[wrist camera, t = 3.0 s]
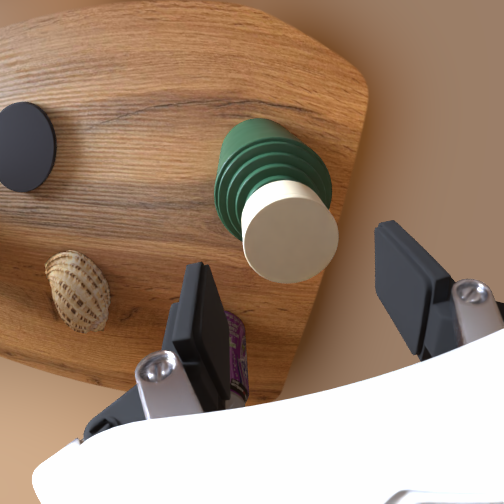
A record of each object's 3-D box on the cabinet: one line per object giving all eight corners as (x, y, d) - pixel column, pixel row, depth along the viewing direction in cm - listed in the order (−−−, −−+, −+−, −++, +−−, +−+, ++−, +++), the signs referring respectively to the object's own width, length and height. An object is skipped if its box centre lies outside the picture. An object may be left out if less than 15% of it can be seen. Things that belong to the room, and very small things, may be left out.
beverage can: (229, 354, 41) (230, 431, 31) (178, 336, 39) (167, 414, 29) (255, 317, 38) (263, 399, 28) (200, 296, 36) (192, 378, 26)
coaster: (5, 89, 23) (2, 90, 22) (70, 122, 26) (67, 123, 25) (-17, 169, 27) (-20, 170, 26) (41, 205, 30) (38, 207, 29)
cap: (272, 163, 14) (280, 177, 12) (340, 208, 15) (356, 229, 13) (225, 233, 16) (224, 257, 14) (292, 269, 17) (301, 297, 15)
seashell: (61, 276, 37) (106, 334, 37) (28, 289, 32) (75, 354, 31) (82, 235, 35) (133, 297, 34) (45, 244, 29) (99, 316, 29)
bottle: (247, 104, 27) (268, 123, 11) (310, 145, 29) (394, 215, 14) (206, 166, 29) (179, 261, 14) (268, 203, 32) (303, 322, 16)
